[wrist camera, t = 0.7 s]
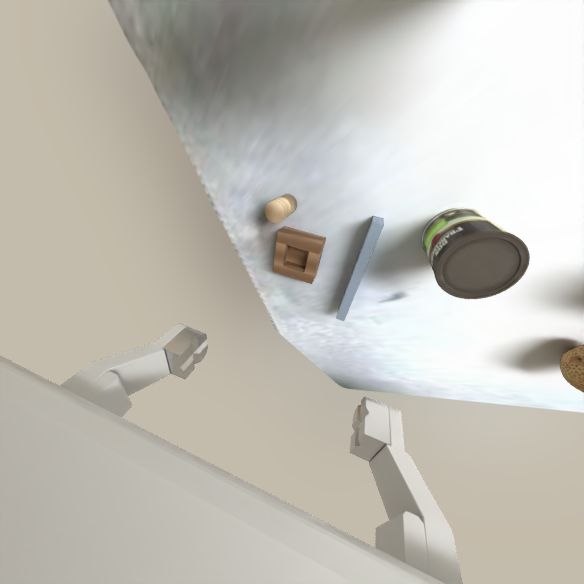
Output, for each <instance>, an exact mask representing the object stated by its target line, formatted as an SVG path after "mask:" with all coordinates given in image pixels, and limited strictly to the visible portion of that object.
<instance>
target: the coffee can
mask: <svg viewBox="0 0 584 584" xmlns="http://www.w3.org/2000/svg"><path fill="white" fill-rule="evenodd" d="M422 246H423V249H424V250H425V252H426V254H427V257H428V259H429V262H430V264H431V266H432V269H433V271H434V274H435V278H436V281H437V283H438V285H439V286H440V287H441V288H442V289H443V290H444V291H445V292H447V293H448V294H450V295H452V296H455V297H459V298H464V299H481V298H486V297H490V296H494V295H496V294H499V293H501V292H503V291H505V290H507V289H509V288H510V287H512V286H513V285H514V284H516V283H517V282H518V281H519V280H520V279H521V278H522V276H523V275H524V274H525V272H526V270H527V268H528V265H529V258H530V257H529V251H528V248H527V246H526V245H525V244H524V242H523V241H522V240H521V239H519V238H518V237H516V236H514V235H513V234H510V233H508V232H506V231H505V230H503V229H502V228H500V227H499V226H497V225H496V224H494V223H493V222H491V221H490V220H488V219H487V218H486V217H484V216H483V215H482V214H480V213H479V212H477V211H476V210H473V209H469V208H454V209H450V210H447V211H444V212H442V213H441V214H439V215H437V216H436V217H435V218H433V219H432V220H431V221H430V222H429V223H428V225H427V226H426V228H425V230H424V232H423V235H422Z"/></svg>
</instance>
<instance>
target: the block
mask: <svg viewBox="0 0 584 584" xmlns="http://www.w3.org/2000/svg"><path fill="white" fill-rule="evenodd" d="M325 240H326V238H325V237H321V236H318V235H314V234H311V233H307V232H303V231H300V230H296V229H293V228H289V227H286V226H285V227H283V228H282V229H281V230H280V231H278V233H277V241H276V249H275V257H274V264H273V272H276V273H279V274H282V275H285V276H288V277H291V278H295V279H298V280H301V281H304V282H307V283H310V284H312V282H313V281H314V279H315V277H316V274H317V270H318V267H319V263H320V259H321V255H322V252H323V248H324V244H325Z"/></svg>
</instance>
